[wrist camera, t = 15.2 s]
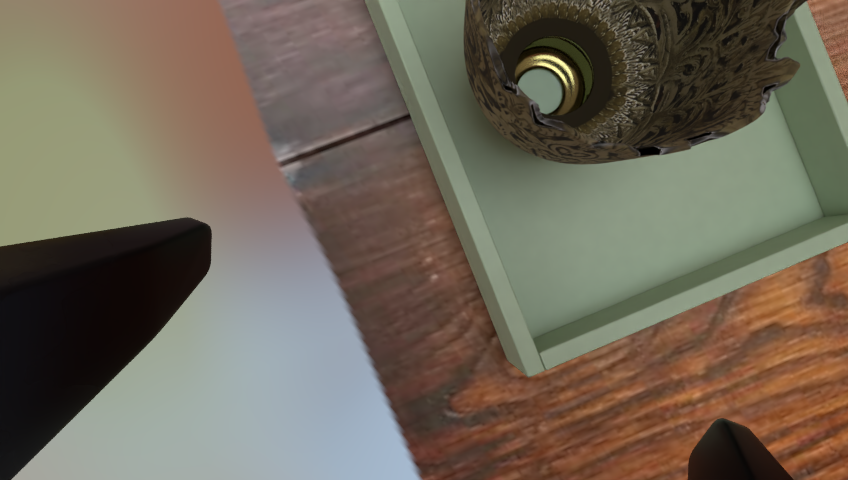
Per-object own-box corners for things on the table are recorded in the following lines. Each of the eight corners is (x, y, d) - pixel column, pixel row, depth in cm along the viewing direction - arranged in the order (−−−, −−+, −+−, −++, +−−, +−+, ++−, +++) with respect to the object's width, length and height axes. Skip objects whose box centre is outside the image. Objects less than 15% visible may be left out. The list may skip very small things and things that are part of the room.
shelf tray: (507, 361, 19) (528, 378, 16) (331, -82, 19) (322, -140, 16) (826, 226, 20) (896, 221, 17) (657, -193, 20) (700, -265, 18)
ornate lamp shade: (601, 228, 19) (761, 205, 11) (404, 153, 18) (418, 72, 10) (668, 34, 19) (870, -127, 11) (477, -43, 19) (545, -267, 11)
